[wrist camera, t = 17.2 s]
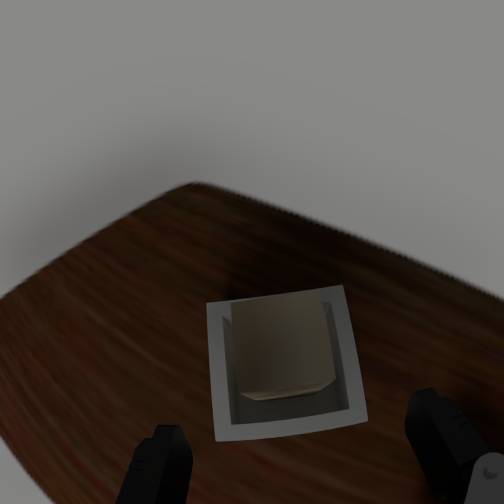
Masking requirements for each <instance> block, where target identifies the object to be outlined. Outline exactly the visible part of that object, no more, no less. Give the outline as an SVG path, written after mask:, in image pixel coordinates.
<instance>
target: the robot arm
mask: <svg viewBox="0 0 504 504" xmlns="http://www.w3.org/2000/svg"><path fill="white" fill-rule="evenodd" d="M405 432H406V436H407V438H408V440H409V442H410V444H411V446H412V449H413V451H414V453H415V455H416V457H417V459H418V461H419V464H420V466H421V468H422V470H423V472H424V474H425V477H426V479H427V481H428V483H429V486H430V488H431V490H432V492H433V495H434V497H435V499H436V502H438V501H440V500H443V499H445V498H447V499H448V501H449V504H504V455H502V454H500V453H492V452H491V451H490V450H489V449H488V448H487V446H486V445H485V443H484V442H483V440H482V439H481V437H480V436H479V434H478V433H477V431H476V430H475V428H474V427H473V425H472V424H471V423H469V420H468V418H467V417H466V415H464V413H463V411H462V410H461V408H460V407H459V406H458V404H457V403H455V402H454V401H452V400H451V399H449V398H448V397H443V398H440V397H439V395H438V394H437V392H436V391H435V390H434V389H433V388H427V389H424V390H421V391H418V392H414V393H412V394H411V396H410V400H409V405H408V410H407V414H406V418H405ZM192 467H193V456H192V451H191V449H190V447H189V444H188V442H187V440H186V438H185V435H184V433H183V431H182V428H181V427H180V426H179V425H158V426H157V427H156V429H155V432H154V435H153V438H145V439H144V440H143V441H142V442H141V443H140V444H139V445H138V446H137V447H136V449H135V452H134V455H133V457H132V461H131V463H130V465H129V470H128V471H127V473H126V476H125V479H124V482H123V484H122V487H121V490H120V493H119V495H118V498H117V501H116V503H115V504H186V498H187V493H188V488H189V482H190V477H191V472H192Z"/></svg>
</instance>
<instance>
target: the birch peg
mask: <svg viewBox="0 0 504 504" xmlns="http://www.w3.org/2000/svg"><path fill="white" fill-rule="evenodd" d="M230 305H231V318H232V330H233V341H234V353H235V364H236V375H237V385H238V393H240V394H242V395H244V396H247V397H249V398H251V399H253V400H256V401H258V402H263V401H271V400H279V399H287V398H294V397H300V396H307V395H313V394H316V393H317V392H319V391H320V390H322V389H323V388H324V387H326V386H327V385H329V384H330V383H331V382H333V381H334V380H336V374H335V368H334V362H333V356H332V350H331V344H330V339H329V333H328V328H327V323H326V318H325V312H324V307H323V302H322V297H321V292H320V290H318V291H311V292H305V293H298V294H291V295H284V296H277V297H270V298H263V299H255V300H248V301H240V302H232V303H230Z"/></svg>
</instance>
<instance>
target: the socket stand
mask: <svg viewBox="0 0 504 504" xmlns="http://www.w3.org/2000/svg"><path fill="white" fill-rule="evenodd" d="M318 290H320V292H321V297H322V302H323V307H324V312H325V318H326V323H327V328H328V333H329V339H330V344H331V350H332V356H333V362H334V368H335V374H336V380H334V381H333V382H331V383H330V384H329V385H327V386H326V387H324V388H323V389H322V390H320V391H319V392H317V393H316V394H313V395H307V396H300V397H294V398H287V399H279V400H271V401H263V402H258V401H256V400H253V399H251V398H249V397H247V396H244V395H242V394H240V393H238V385H237V375H236V364H235V353H234V341H233V330H232V318H231V305H230V303H232V302H240V301H248V300H255V299H263V298H270V297H277V296H284V295H291V294H298V293H305V292H311V291H318ZM206 305H207V326H208V345H209V362H210V377H211V391H212V404H213V416H214V428H215V439H216V441H236V440H251V439H262V438H272V437H281V436H289V435H296V434H303V433H310V432H316V431H322V430H327V429H333V428H338V427H343V426H348V425H352V424H357V423H361V422H365V421H368V417H367V410H366V403H365V397H364V391H363V384H362V378H361V373H360V367H359V361H358V356H357V351H356V345H355V340H354V335H353V330H352V325H351V320H350V316H349V311H348V306H347V302H346V297H345V293H344V289H343V285H338V286H331V287H325V288H318V289H312V290H305V291H298V292H291V293H284V294H277V295H269V296H262V297H254V298H246V299H238V300H230V301H221V302H213V303H206Z"/></svg>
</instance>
